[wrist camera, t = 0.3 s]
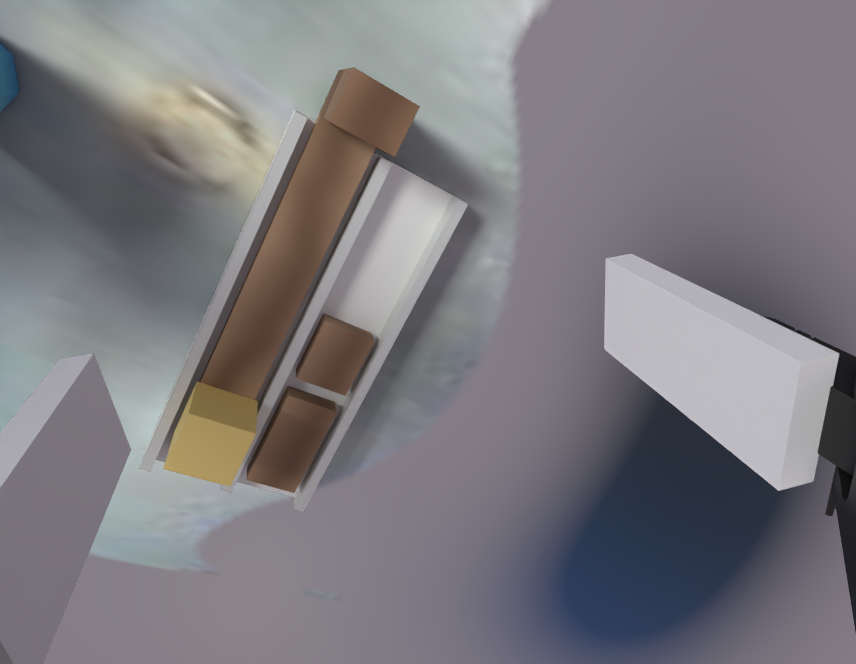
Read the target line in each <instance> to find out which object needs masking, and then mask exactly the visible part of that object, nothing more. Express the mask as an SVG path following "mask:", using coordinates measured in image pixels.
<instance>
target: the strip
mask: <svg viewBox="0 0 856 664" xmlns="http://www.w3.org/2000/svg"><path fill="white" fill-rule="evenodd" d="M419 107H420V106H418V105H416V104H415V103H413V102H411V101H410V100H408V99H406V98H405V97H403V96H401V95H399V94H398V93H396V92H394V91H393V90H391V89H389V88H388V87H386V86H384V85H383V84H381V83H379V82H378V81H376V80H374V79H372V78H371V77H369V76H367V75H366V74H364V73H362V72H361V71H359V70H357V69H356V68H354V67H353V68H348V69H343V70H339V71H338V73H337V75H336V78H335V80H334V82H333V84H332V86H331V89H330V91H329V93H328V95H327V98H326V100H325V102H324V104H323V107H322V109H321V111H320V113H319V115H318V118H317V120H316V122H315V124H314V127H313V129H312V131H311V133H310V135H309V138H308V140H307V142H306V144H305V147H304V149H303V151H302V153H301V155H300V158H299V160H298V162H297V164H296V167H295V169H294V171H293V173H292V176H291V178H290V180H289V182H288V184H287V187H286V189H285V191H284V193H283V196H282V198H281V200H280V202H279V204H278V207H277V209H276V211H275V213H274V216H273V218H272V220H271V222H270V224H269V227H268V229H267V231H266V233H265V236H264V238H263V240H262V242H261V245H260V247H259V249H258V251H257V253H256V256H255V258H254V260H253V262H252V265H251V267H250V269H249V271H248V273H247V276H246V278H245V280H244V282H243V285H242V287H241V289H240V291H239V293H238V296H237V298H236V300H235V302H234V305H233V307H232V309H231V311H230V314H229V316H228V318H227V320H226V322H225V325H224V327H223V329H222V331H221V334H220V336H219V338H218V340H217V342H216V345H215V347H214V349H213V351H212V354H211V356H210V358H209V360H208V362H207V365H206V367H205V369H204V371H203V374H202V376H201V378H200V380H199V382H201V383H204V384H207V385H210V386H213V387H216V388H219V389H222V390H225V391H228V392H231V393H234V394H237V395H240V396H243V397H246V398H249V399H252V400H255V398H256V396H257V394H258V392H259V390H260V388H261V386H262V384H263V382H264V380H265V378H266V376H267V374H268V371H269V369H270V367H271V365H272V363H273V361H274V359H275V357H276V355H277V353H278V351H279V349H280V346H281V344H282V342H283V340H284V338H285V336H286V334H287V332H288V330H289V328H290V326H291V324H292V322H293V319H294V317H295V315H296V313H297V311H298V309H299V307H300V305H301V303H302V301H303V299H304V297H305V295H306V292H307V290H308V288H309V286H310V284H311V282H312V280H313V278H314V276H315V274H316V272H317V270H318V268H319V265H320V263H321V261H322V259H323V257H324V255H325V253H326V251H327V249H328V247H329V245H330V243H331V241H332V238H333V236H334V234H335V232H336V230H337V228H338V226H339V224H340V222H341V220H342V218H343V216H344V214H345V211H346V209H347V207H348V205H349V203H350V201H351V199H352V197H353V195H354V193H355V191H356V189H357V187H358V184H359V182H360V180H361V178H362V176H363V174H364V172H365V170H366V168H367V166H368V164H369V162H370V160H371V157H372V155H373V153H374V151H375V149H376V147H377V148H379V149H380V150H382V151H384V152H386V153H388V154H390V155H392V156H393V157H395V156H396V154H397V152H398V150H399V148H400V146H401V144H402V142H403V140H404V138H405V136H406V134H407V131H408V129H409V127H410V125H411V123H412V121H413V119H414V117H415V115H416V113H417V111H418V109H419ZM168 452H169V451H168Z"/></svg>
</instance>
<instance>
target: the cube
mask: <svg viewBox="0 0 856 664" xmlns="http://www.w3.org/2000/svg"><path fill="white" fill-rule="evenodd" d="M257 408H258V401H255V400H252V399H249V398H246V397H243V396H240V395H237V394H234V393H231V392H228V391H225V390H222V389H219V388H216V387H213V386H210V385H207V384H204V383H201V382H198V381H197V382H196V385H195V387H194V389H193V391H192V394H191V396H190V398H189V400H188V402H187V405H186V407H185V409H184V411H183V414H182V416H181V418H180V420H179V423H178V425H177V427H176V429H175V431H174V434H173V438H172V441H171V445H170V448H169V452H168V455H167V459H166V462H165V465H164V469H166V470H169V471H173V472H177V473H181V474H184V475H188V476H192V477H196V478H199V479H203V480H207V481H211V482H214V483H218V484H222V485H226V486H229V487H230V486H231V484H232V482H233V480H234V478H235V476H236V474H237V472H238V470H239V468H240V466H241V464H242V462H243V460H244V458H245V456H246V454H247V452H248V449H249V447H250V445H251V443H252V441H253V439H254V437H255V435H256V426H257Z"/></svg>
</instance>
